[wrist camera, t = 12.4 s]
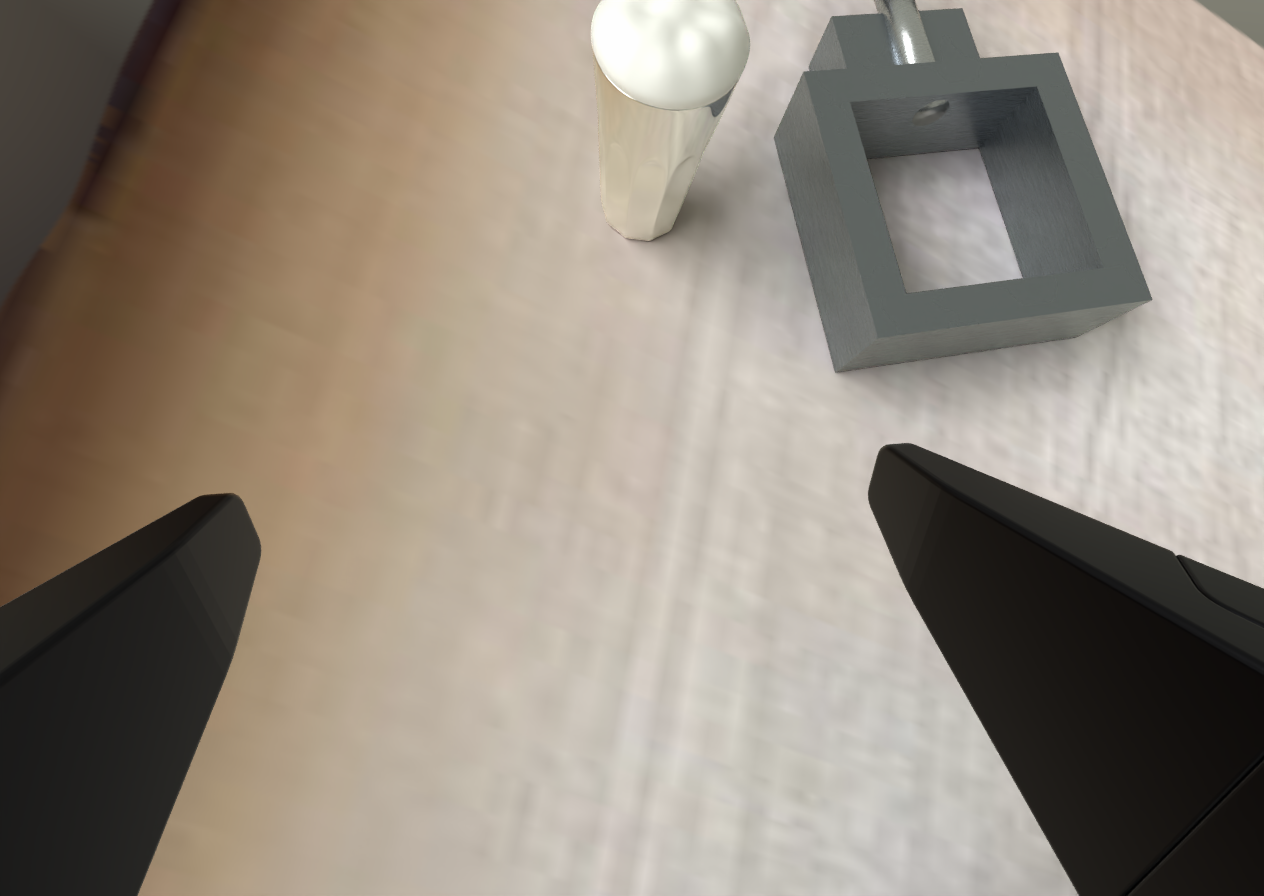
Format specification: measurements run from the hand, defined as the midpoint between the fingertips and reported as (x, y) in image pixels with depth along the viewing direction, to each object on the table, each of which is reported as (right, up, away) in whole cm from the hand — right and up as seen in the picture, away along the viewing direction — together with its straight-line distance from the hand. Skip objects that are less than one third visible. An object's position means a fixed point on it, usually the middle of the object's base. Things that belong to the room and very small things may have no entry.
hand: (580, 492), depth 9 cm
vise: (+13, +13, +18) cm, 26 cm away
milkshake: (+1, +11, +17) cm, 20 cm away
